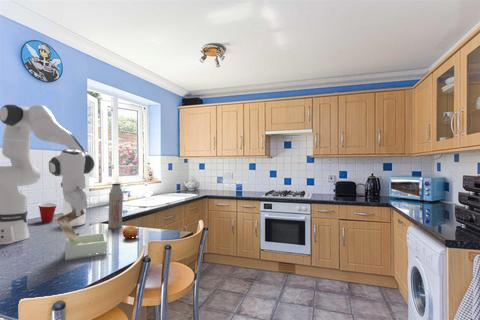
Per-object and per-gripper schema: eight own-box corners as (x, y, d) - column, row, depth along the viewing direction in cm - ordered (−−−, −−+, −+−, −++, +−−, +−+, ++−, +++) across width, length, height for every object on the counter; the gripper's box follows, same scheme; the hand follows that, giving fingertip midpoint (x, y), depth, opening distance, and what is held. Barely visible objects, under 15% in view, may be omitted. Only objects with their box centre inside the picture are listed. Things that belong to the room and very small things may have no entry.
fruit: (131, 232, 152) (135, 221, 149) (137, 242, 147) (141, 231, 145) (117, 235, 146) (121, 224, 143) (123, 245, 141) (127, 234, 139)
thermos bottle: (120, 228, 165) (121, 184, 166) (107, 228, 163) (108, 184, 163) (122, 225, 173) (124, 183, 173) (109, 225, 171) (110, 183, 171)
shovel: (60, 222, 112) (84, 209, 119) (55, 217, 117) (78, 206, 124) (71, 242, 116) (94, 229, 123) (66, 237, 121) (87, 224, 128)
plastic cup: (49, 223, 172) (49, 205, 172) (33, 223, 172) (33, 205, 172) (60, 219, 183) (61, 202, 183) (45, 219, 183) (46, 202, 183)
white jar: (89, 222, 178) (90, 193, 178) (76, 227, 165) (77, 195, 165) (72, 221, 179) (73, 192, 179) (57, 226, 166) (58, 195, 166)
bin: (64, 260, 112) (65, 246, 112) (67, 249, 126) (67, 236, 126) (106, 254, 120) (106, 241, 120) (104, 244, 134) (104, 232, 134)
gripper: (90, 187, 114) (92, 218, 116) (74, 180, 127) (76, 208, 129) (73, 190, 109) (76, 221, 111) (59, 182, 122) (61, 211, 124)
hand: (76, 214), depth 120 cm, fingers closed on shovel, 3 cm apart
